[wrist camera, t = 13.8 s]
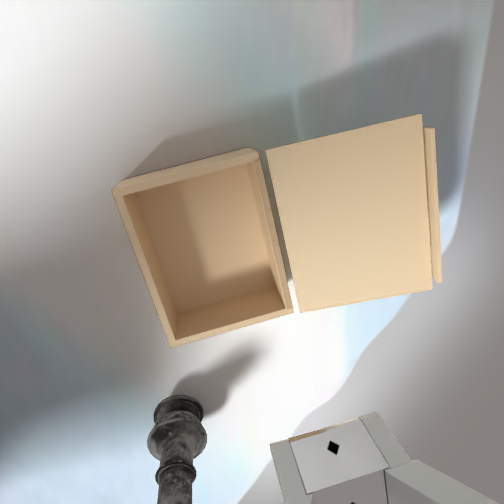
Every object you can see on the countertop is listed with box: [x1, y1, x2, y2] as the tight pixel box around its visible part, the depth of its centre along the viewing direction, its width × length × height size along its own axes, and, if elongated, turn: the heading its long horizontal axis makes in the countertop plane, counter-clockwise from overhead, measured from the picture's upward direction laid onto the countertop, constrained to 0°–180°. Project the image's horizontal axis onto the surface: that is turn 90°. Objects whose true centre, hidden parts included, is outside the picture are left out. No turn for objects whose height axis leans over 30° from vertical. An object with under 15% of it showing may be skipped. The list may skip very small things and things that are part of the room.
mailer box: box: [111, 147, 294, 348], centre depth 32 cm, size 14×11×5 cm
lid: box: [265, 114, 442, 313], centre depth 29 cm, size 14×12×1 cm
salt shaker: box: [147, 395, 207, 504], centre depth 35 cm, size 6×6×12 cm
